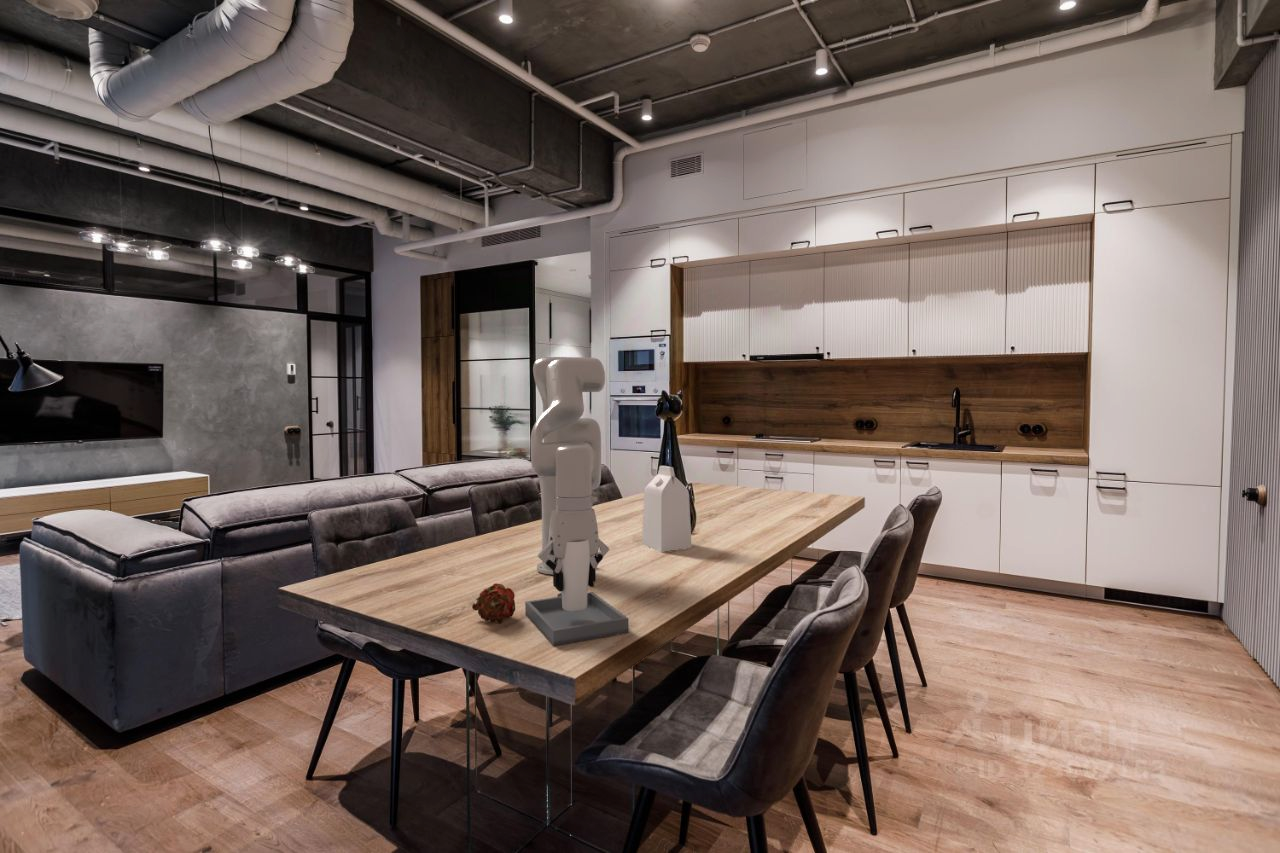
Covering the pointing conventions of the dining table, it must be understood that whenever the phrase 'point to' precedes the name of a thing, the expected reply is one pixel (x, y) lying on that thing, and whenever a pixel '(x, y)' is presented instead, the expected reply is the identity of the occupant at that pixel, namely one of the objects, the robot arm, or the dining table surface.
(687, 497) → the milk
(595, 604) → the tray
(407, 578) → the dining table surface
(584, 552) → the drinking glass
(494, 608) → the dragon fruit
